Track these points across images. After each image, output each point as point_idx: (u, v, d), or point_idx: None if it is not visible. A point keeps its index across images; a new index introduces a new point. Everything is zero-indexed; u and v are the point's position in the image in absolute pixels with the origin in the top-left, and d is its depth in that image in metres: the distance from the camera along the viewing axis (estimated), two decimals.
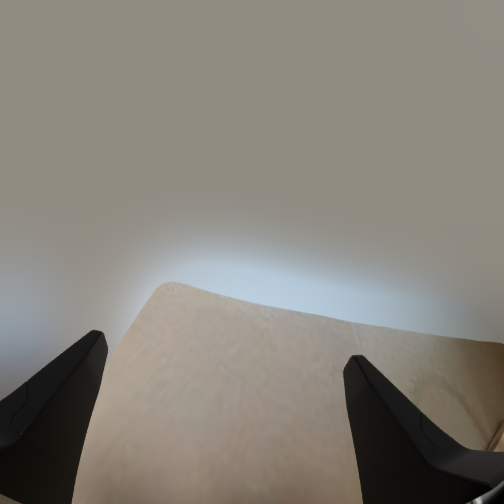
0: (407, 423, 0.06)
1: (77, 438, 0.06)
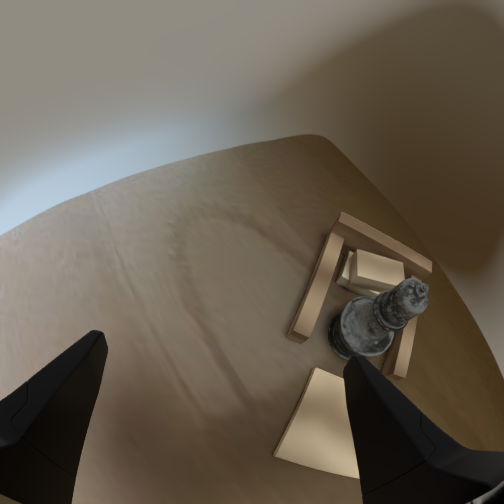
0: (407, 423, 0.06)
1: (77, 438, 0.06)
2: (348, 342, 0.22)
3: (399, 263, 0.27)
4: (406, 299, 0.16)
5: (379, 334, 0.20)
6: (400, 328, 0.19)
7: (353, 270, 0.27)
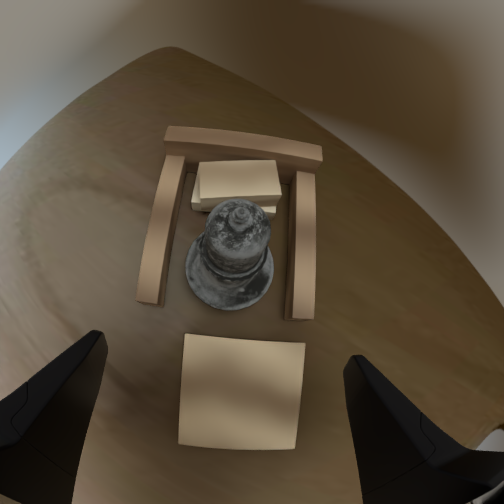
0: (407, 423, 0.06)
1: (77, 438, 0.06)
2: (202, 298, 0.17)
3: (269, 162, 0.21)
4: (216, 242, 0.11)
5: (233, 282, 0.16)
6: (252, 273, 0.14)
7: None
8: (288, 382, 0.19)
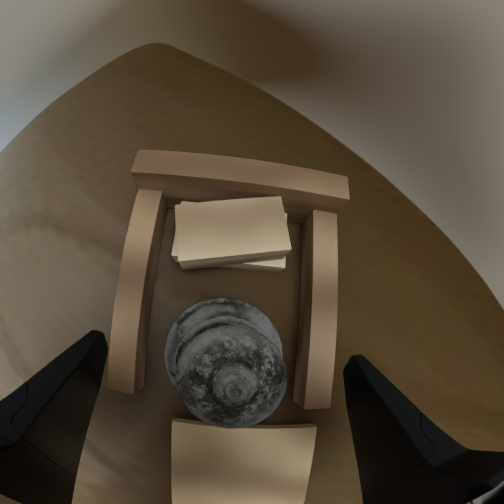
0: (407, 423, 0.06)
1: (77, 438, 0.06)
2: None
3: (272, 200, 0.15)
4: (194, 412, 0.06)
5: None
6: None
7: None
8: (295, 467, 0.13)
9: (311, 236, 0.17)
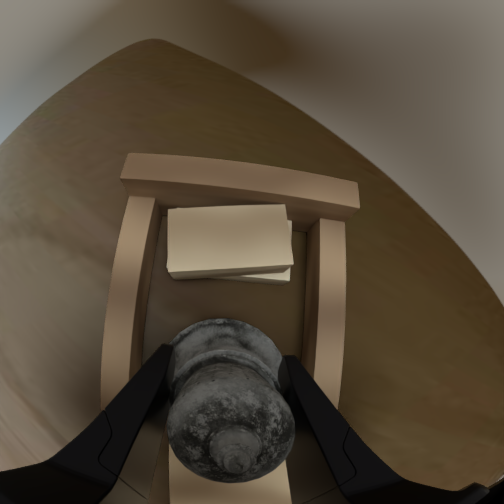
0: (326, 438, 0.05)
1: (153, 459, 0.06)
2: None
3: (275, 209, 0.14)
4: (190, 468, 0.04)
5: None
6: None
7: None
8: None
9: (317, 247, 0.15)
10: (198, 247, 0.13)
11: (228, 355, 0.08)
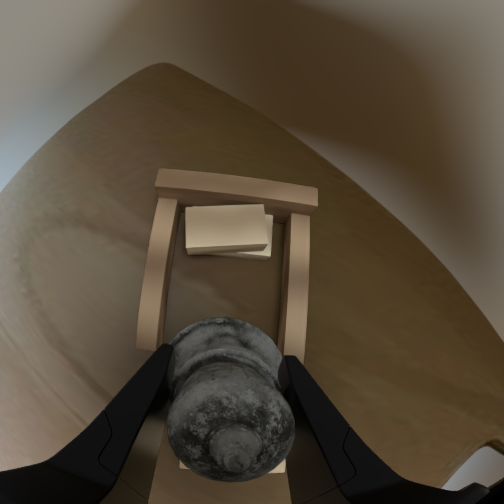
0: (326, 438, 0.05)
1: (153, 459, 0.06)
2: None
3: (257, 207, 0.21)
4: (189, 467, 0.04)
5: None
6: None
7: None
8: None
9: (289, 233, 0.22)
10: (205, 232, 0.20)
11: (228, 354, 0.08)
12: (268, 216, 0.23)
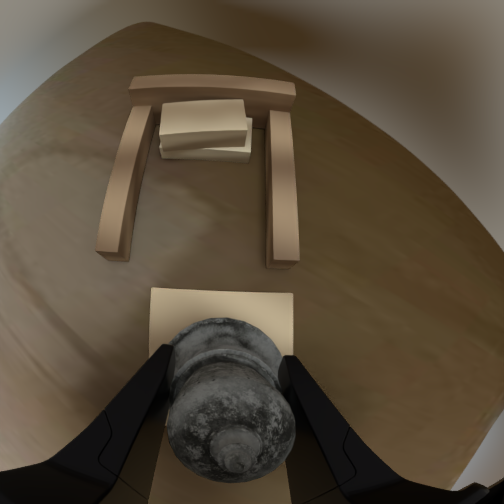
0: (326, 438, 0.05)
1: (153, 459, 0.06)
2: None
3: (236, 101, 0.18)
4: (190, 468, 0.04)
5: None
6: None
7: None
8: (276, 342, 0.17)
9: (269, 127, 0.19)
10: (181, 121, 0.17)
11: (228, 354, 0.08)
12: (247, 119, 0.20)
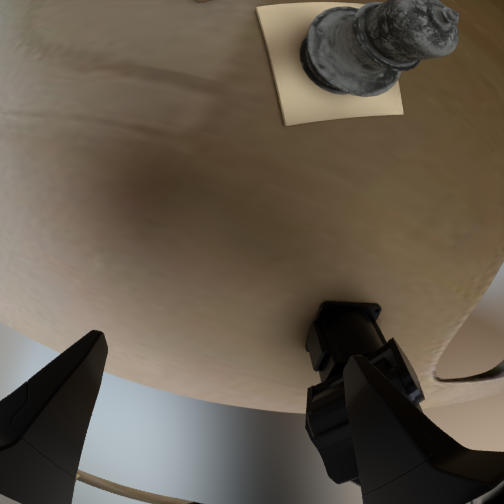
0: (407, 423, 0.06)
1: (77, 438, 0.06)
2: (339, 87, 0.12)
3: None
4: (420, 37, 0.05)
5: (382, 68, 0.10)
6: (416, 62, 0.08)
7: None
8: None
9: None
10: None
11: None
12: None
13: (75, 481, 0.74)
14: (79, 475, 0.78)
